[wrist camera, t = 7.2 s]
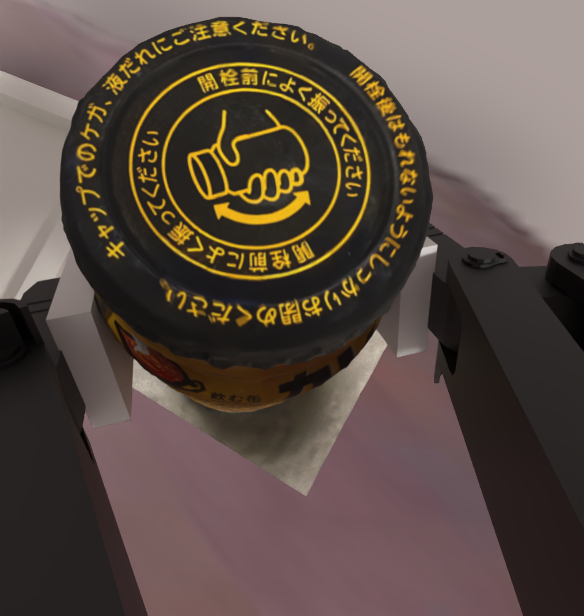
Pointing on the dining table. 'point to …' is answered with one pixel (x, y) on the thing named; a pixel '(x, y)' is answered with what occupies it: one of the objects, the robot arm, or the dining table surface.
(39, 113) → the tray
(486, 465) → the robot arm
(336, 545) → the dining table surface
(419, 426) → the dining table surface
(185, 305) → the condiment
